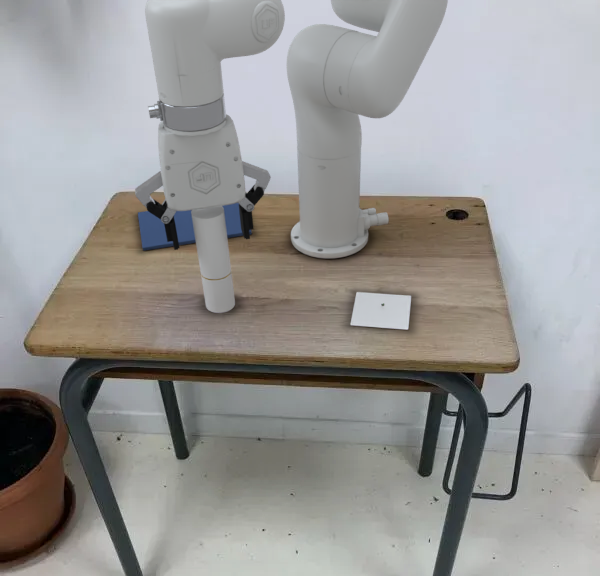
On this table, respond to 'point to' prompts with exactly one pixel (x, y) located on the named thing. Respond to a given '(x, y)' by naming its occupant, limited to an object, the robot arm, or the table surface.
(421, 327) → the table surface
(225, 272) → the tube
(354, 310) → the white piece
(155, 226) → the cloth mat
